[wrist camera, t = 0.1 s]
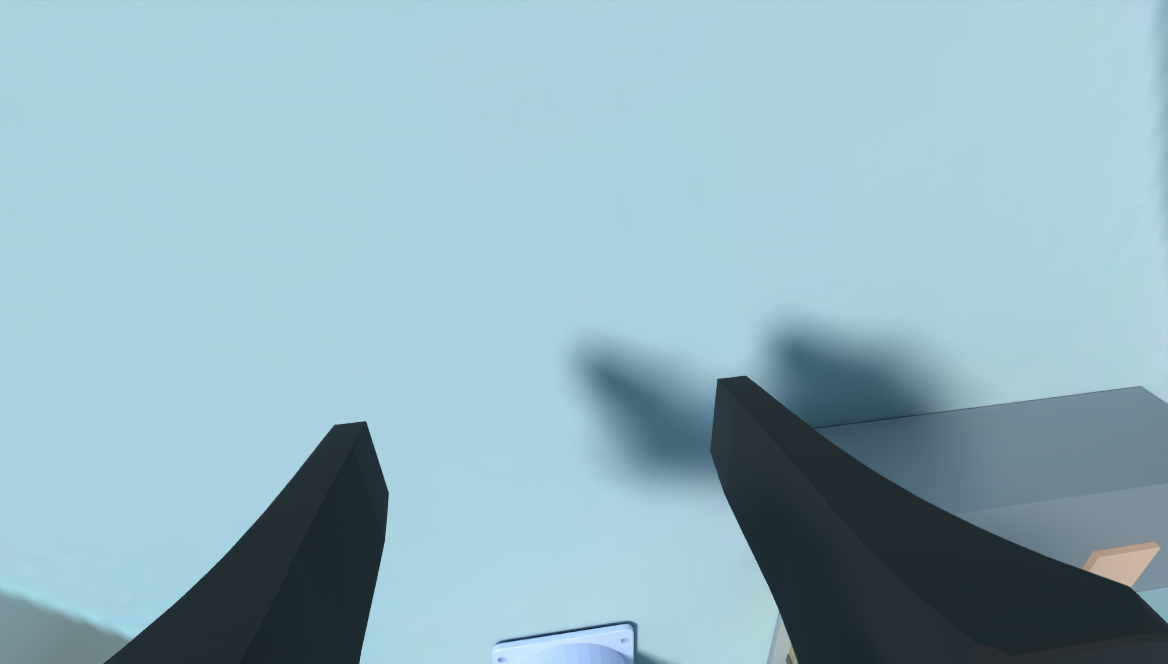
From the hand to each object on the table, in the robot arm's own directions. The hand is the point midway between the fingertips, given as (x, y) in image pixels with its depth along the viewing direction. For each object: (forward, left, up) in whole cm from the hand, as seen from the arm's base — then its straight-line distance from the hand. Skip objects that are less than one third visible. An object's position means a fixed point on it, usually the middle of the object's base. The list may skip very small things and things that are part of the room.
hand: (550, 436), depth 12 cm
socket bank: (-15, -20, -10) cm, 27 cm away
